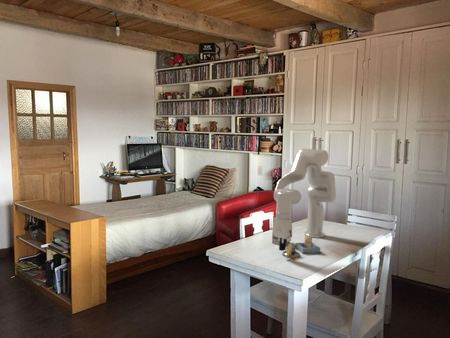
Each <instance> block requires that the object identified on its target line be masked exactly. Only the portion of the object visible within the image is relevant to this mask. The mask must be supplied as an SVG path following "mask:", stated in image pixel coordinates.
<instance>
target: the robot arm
mask: <svg viewBox="0 0 450 338" xmlns="http://www.w3.org/2000/svg"><path fill="white" fill-rule="evenodd" d="M328 161H329V153H328V151H327V150H326V149H313V148H312V149H311V148H301V149H299V151H298V152H297V153H296V155H295V157H294V160H293V163H292V165H291V168H290V171H289V172H288V173H286V174H285V175H283V176H282V177H281V178H280V179H279V180H278V181H277V183H276V186H275V188H274V191H273V199H274V201H276V205H275V206H276V209H275V216H276V217H275V219H274V225H273V224H272V233H273V235H274V236H275V237H277V238H278V242H279V245H278V251H281V252H282V251H283V252H284V251H286V247H287V244H288V243H287V241H290V242H291V241H292V237H293V222H292V205H296V204H299V203H300V201H301V199H302V193H301V192H300V191H299V190H297V189H290V188H286V187H287V186H288V185H291V184H294V183H297V182H300V181H302V180H304V179H305V178H306V175H307V180H308V184H309V185H310V186H308V188H307V192H306V195H307V226H306V231H304V235H305V236H312V238H314V239H315V238H316V239H317V238H324V237H325V236H326V235H325V232H323V230H324V228H323V225H324V205H323V204H322V203H330V204H331V203H334V202H335V201H336V198H337V192H336V191H337V189H336V178H335V175H334V173H333V172H331V171H325V170H322V166H324V165H326V164H327V162H328Z"/></svg>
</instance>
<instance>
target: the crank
mask: <svg viewBox="0 0 450 338" xmlns="http://www.w3.org/2000/svg"><path fill="white" fill-rule="evenodd" d="M296 250H297V249H296V246H293V245H292V243H286V250H285V251H286V257H285V258H287V259H292V258H291V255H292V254H295V251H296ZM296 252H297V251H296Z"/></svg>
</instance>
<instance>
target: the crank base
mask: <svg viewBox="0 0 450 338" xmlns="http://www.w3.org/2000/svg"><path fill="white" fill-rule="evenodd" d="M300 253H301V252H300V251H295V254H292V255H291V258H290V259H293V260H294V261H299V258H300V257H301V256H300V255H301V254H300ZM282 257H285V258H287V257H286V250H283V252H282Z"/></svg>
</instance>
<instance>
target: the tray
mask: <svg viewBox="0 0 450 338" xmlns="http://www.w3.org/2000/svg"><path fill="white" fill-rule="evenodd" d="M304 243H305V242H295V247H296V250H297V251H298V252H299V253H301V254H302V255H304V254H306V255H310V254H321V247H320V246H318V245H317V244H316V243H314V242H313V241H312V248H304Z"/></svg>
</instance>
